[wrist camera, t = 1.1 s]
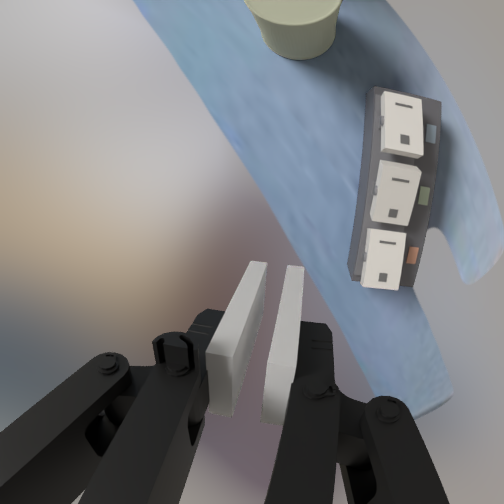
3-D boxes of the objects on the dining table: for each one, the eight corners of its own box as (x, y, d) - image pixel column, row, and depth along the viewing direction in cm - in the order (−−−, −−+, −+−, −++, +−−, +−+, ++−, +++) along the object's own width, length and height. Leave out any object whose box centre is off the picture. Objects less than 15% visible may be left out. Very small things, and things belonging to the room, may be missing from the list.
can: (349, 25, 27) (363, -19, 16) (307, 73, 31) (306, 42, 20) (288, -11, 26) (278, -60, 15) (246, 36, 30) (219, -3, 19)
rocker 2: (378, 159, 26) (381, 164, 25) (418, 166, 25) (423, 172, 24) (368, 213, 30) (370, 220, 28) (405, 218, 29) (409, 226, 28)
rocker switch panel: (366, 93, 30) (376, 84, 24) (425, 106, 29) (445, 100, 23) (347, 264, 38) (352, 284, 32) (402, 270, 37) (415, 291, 31)
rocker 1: (378, 96, 25) (382, 90, 23) (417, 105, 24) (423, 99, 23) (378, 151, 26) (383, 147, 24) (419, 159, 25) (425, 155, 23)
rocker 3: (365, 227, 30) (369, 228, 28) (403, 233, 29) (408, 233, 28) (358, 283, 31) (361, 286, 29) (395, 287, 30) (400, 290, 28)
